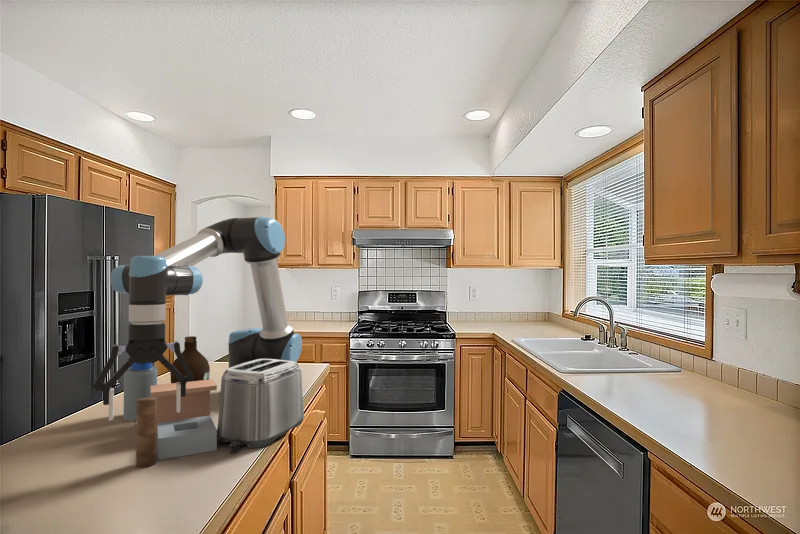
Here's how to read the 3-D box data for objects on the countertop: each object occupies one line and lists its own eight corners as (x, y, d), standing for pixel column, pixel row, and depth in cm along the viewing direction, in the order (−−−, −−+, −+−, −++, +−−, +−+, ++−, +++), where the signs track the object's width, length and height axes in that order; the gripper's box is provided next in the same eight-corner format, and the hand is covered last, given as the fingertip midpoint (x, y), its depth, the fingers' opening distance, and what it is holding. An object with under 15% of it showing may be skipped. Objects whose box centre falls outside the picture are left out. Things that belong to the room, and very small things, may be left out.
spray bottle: (163, 412, 147) (164, 332, 147) (142, 421, 138) (143, 337, 138) (138, 410, 148) (139, 331, 149) (116, 419, 140) (117, 335, 140)
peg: (155, 459, 111) (156, 396, 111) (155, 465, 107) (156, 400, 107) (136, 462, 109) (136, 398, 109) (135, 469, 105) (136, 402, 106)
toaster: (314, 421, 140) (314, 357, 140) (251, 458, 112) (252, 379, 112) (266, 415, 145) (266, 353, 145) (195, 449, 117) (196, 373, 118)
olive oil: (167, 429, 132) (168, 340, 132) (172, 417, 142) (172, 335, 142) (208, 425, 135) (209, 338, 136) (209, 414, 145) (210, 333, 146)
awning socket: (212, 424, 136) (212, 379, 136) (222, 449, 118) (223, 396, 118) (150, 433, 128) (150, 385, 128) (150, 461, 110) (151, 404, 110)
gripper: (203, 319, 118) (202, 403, 117) (84, 323, 106) (82, 417, 105) (207, 322, 111) (205, 411, 111) (80, 326, 99) (78, 427, 99)
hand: (145, 414), depth 108 cm, fingers open, 13 cm apart
